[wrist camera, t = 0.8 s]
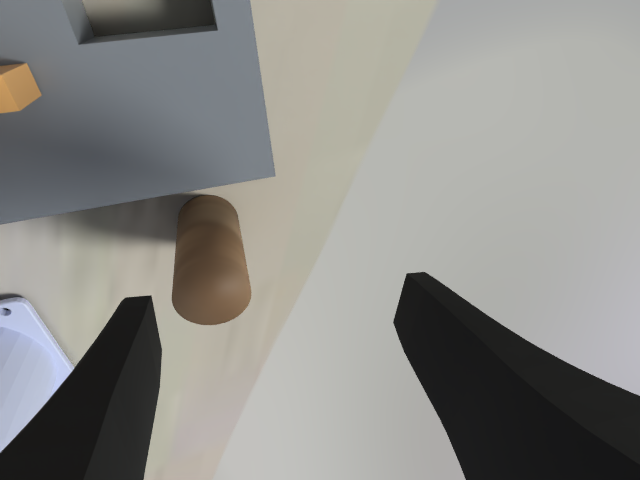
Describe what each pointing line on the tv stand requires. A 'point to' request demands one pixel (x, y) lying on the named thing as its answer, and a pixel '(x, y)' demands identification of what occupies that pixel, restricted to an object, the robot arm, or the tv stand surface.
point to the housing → (128, 110)
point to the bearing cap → (17, 87)
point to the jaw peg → (209, 263)
